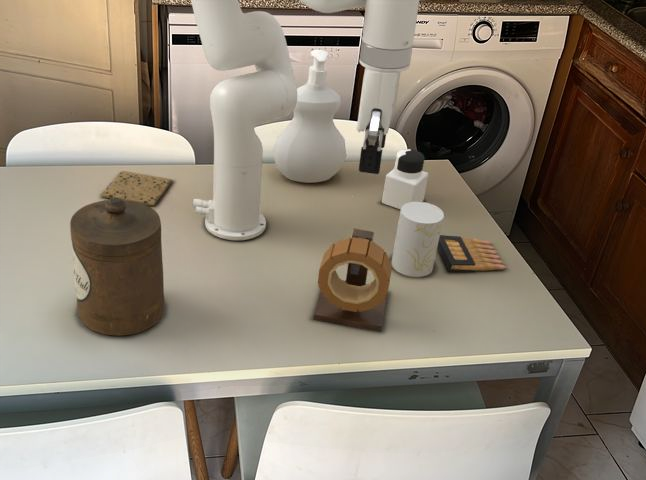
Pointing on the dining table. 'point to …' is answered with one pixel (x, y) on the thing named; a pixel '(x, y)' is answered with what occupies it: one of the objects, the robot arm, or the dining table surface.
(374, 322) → the hook stand
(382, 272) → the segmented brown cylinder
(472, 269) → the ammunition clip
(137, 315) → the wooden container
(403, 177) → the medicine bottle
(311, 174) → the soap bottle
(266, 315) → the dining table surface
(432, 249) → the cup
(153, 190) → the tan flat square slab
